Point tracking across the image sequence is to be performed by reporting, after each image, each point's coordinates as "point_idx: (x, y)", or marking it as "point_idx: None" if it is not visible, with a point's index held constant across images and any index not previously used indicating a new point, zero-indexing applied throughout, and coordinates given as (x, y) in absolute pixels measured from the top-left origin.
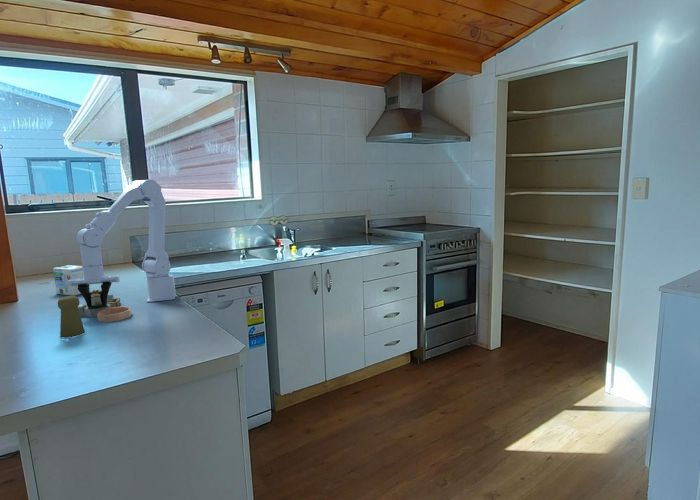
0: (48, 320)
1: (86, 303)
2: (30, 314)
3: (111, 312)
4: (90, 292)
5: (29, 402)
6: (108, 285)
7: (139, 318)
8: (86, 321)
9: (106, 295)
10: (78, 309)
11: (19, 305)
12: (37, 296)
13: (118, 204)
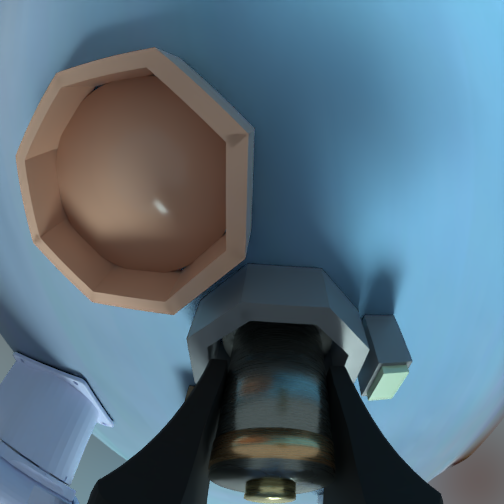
0: (501, 310)
1: None
2: (492, 395)
3: (175, 278)
4: (318, 482)
5: None
6: (90, 498)
7: (10, 97)
8: (347, 162)
9: (169, 422)
10: (402, 351)
11: (464, 449)
12: None
13: None
